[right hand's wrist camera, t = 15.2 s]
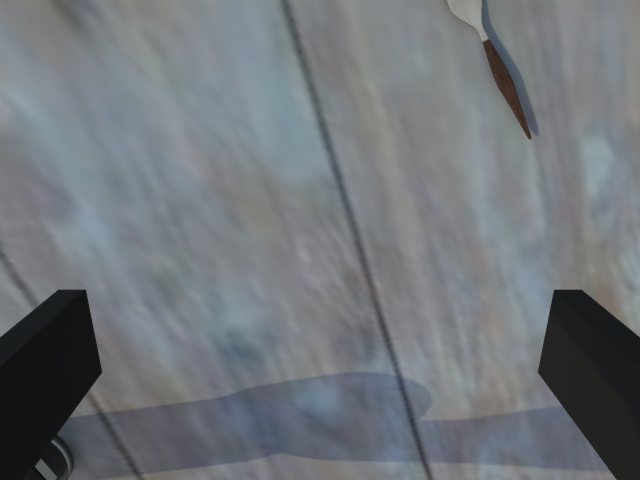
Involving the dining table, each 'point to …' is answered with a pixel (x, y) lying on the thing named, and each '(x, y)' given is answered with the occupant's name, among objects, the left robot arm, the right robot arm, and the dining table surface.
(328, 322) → the dining table surface
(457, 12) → the fork
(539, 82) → the dining table surface
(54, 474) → the left robot arm
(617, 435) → the right robot arm
